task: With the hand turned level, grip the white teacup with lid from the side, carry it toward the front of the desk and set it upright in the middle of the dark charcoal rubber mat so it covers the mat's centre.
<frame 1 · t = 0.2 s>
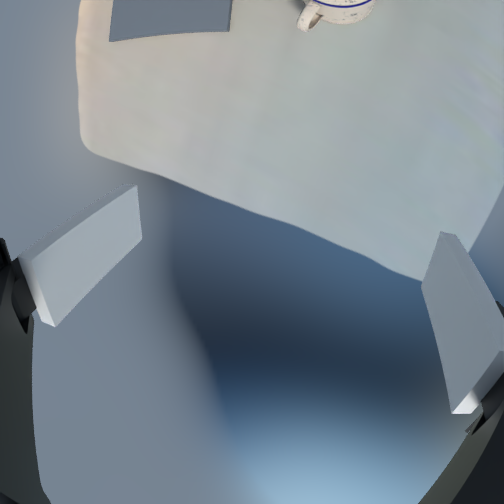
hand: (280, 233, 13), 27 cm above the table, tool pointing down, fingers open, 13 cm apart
teacup with lid: (332, 2, 28), on the table
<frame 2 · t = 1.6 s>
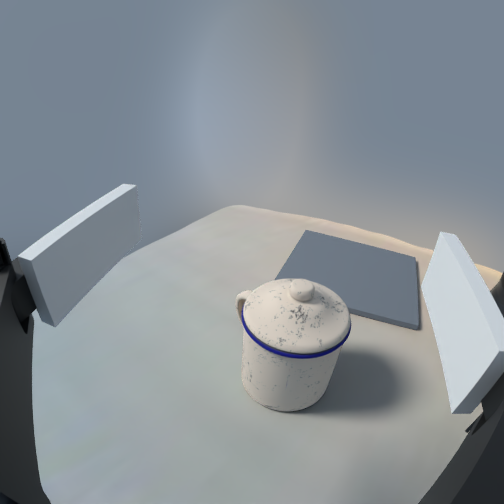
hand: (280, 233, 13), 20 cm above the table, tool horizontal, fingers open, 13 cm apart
teacup with lid: (274, 370, 31), on the table
charcoal mat: (353, 274, 47), on the table
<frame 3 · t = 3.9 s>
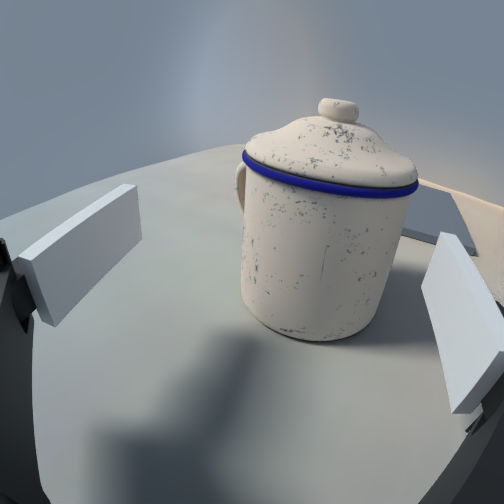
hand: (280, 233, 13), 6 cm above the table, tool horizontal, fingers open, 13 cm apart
teacup with lid: (292, 286, 21), on the table
charcoal mat: (383, 199, 36), on the table
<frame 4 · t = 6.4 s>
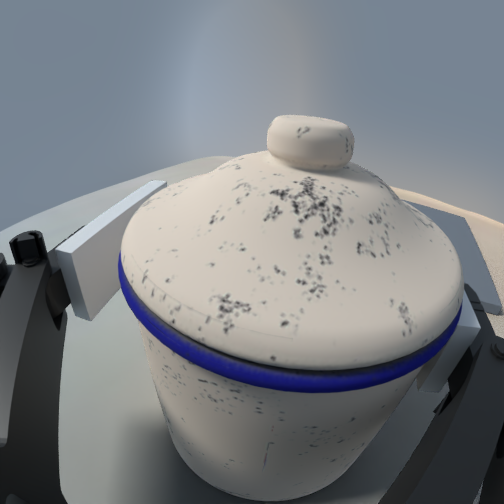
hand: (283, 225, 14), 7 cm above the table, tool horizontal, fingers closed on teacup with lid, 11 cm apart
teacup with lid: (246, 396, 14), on the table, touching gripper
charcoal mat: (386, 232, 29), on the table
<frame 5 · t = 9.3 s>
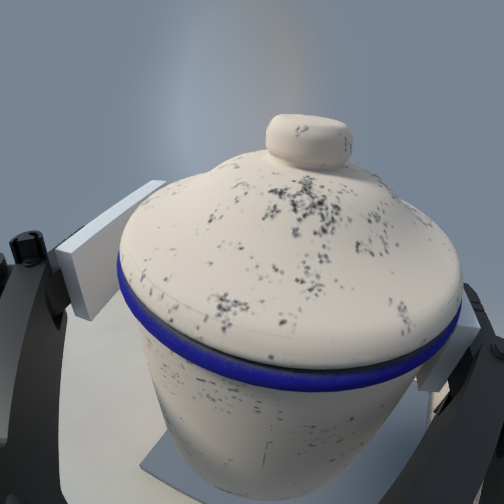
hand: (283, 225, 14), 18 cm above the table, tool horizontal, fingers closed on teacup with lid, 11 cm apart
teacup with lid: (245, 395, 14), point 12 cm above the table, touching gripper
charcoal mat: (308, 436, 23), on the table
when the fingers open (9 cm above the table, at t = 12.5 s): teacup with lid drops 1 cm, resting on charcoal mat.
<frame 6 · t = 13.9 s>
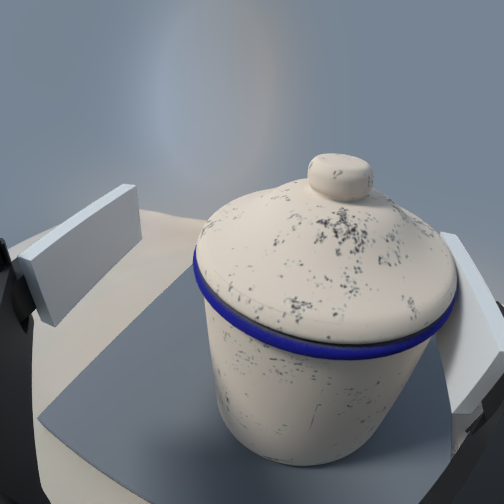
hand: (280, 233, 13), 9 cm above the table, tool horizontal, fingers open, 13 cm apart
teacup with lid: (282, 378, 16), point 1 cm above the table, touching charcoal mat, gripper
charcoal mat: (282, 388, 17), on the table
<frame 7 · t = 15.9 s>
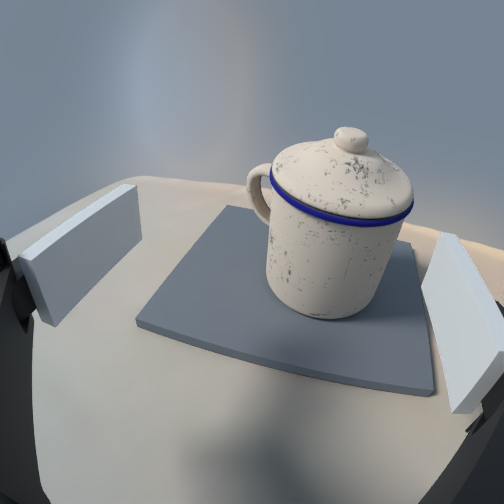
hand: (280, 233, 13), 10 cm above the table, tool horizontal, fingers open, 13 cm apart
teacup with lid: (305, 269, 25), point 1 cm above the table, touching charcoal mat
charcoal mat: (304, 281, 26), on the table
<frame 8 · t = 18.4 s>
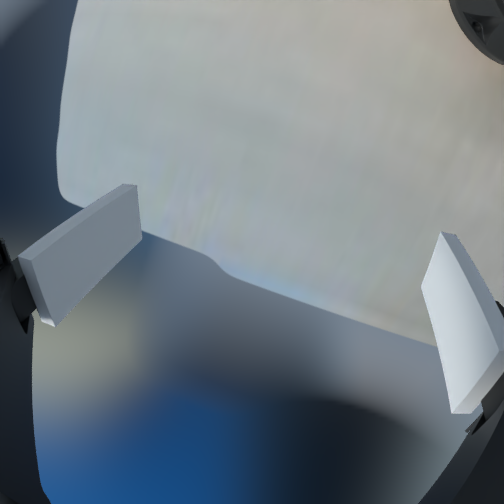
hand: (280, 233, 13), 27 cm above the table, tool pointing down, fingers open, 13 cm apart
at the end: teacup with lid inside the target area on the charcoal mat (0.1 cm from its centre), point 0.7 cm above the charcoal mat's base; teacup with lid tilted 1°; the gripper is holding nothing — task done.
